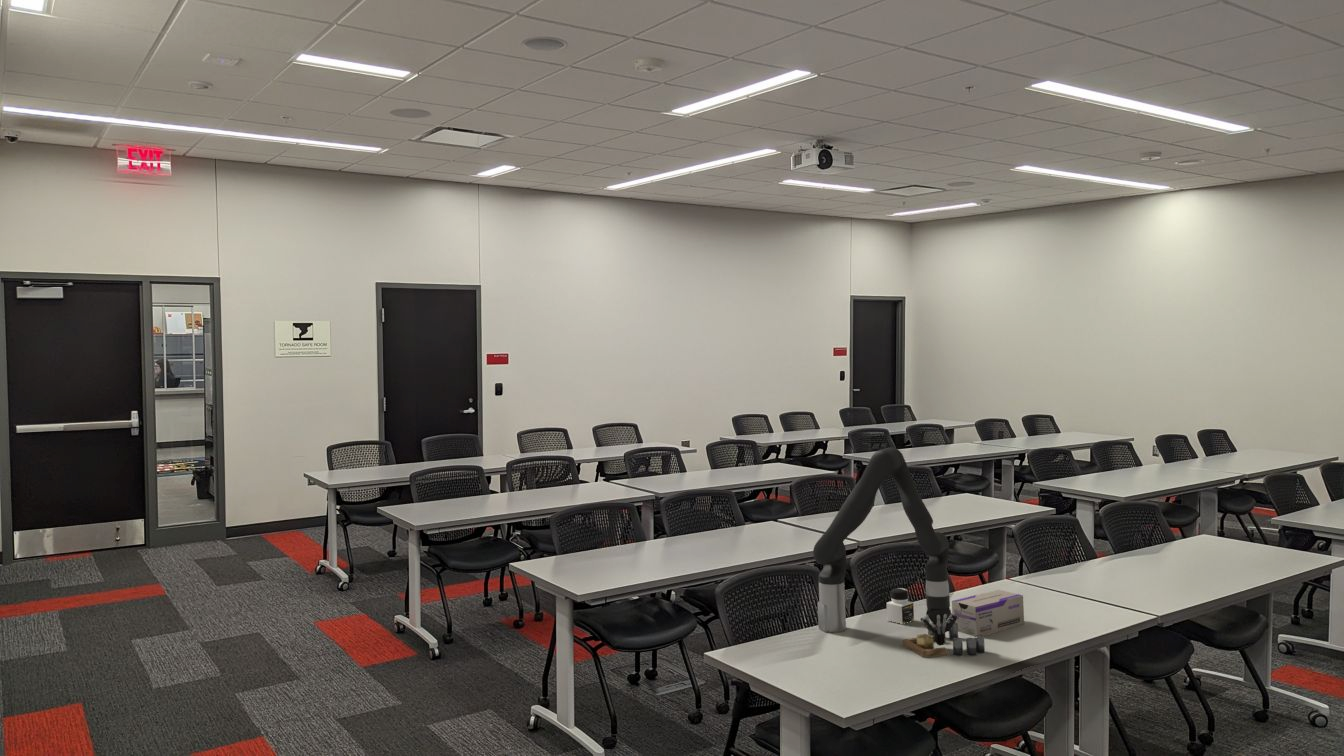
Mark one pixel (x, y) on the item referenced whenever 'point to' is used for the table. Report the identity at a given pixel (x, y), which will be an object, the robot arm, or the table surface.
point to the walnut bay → (920, 651)
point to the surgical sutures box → (988, 612)
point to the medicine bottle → (900, 607)
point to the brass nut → (925, 641)
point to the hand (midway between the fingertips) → (940, 644)
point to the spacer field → (971, 643)
